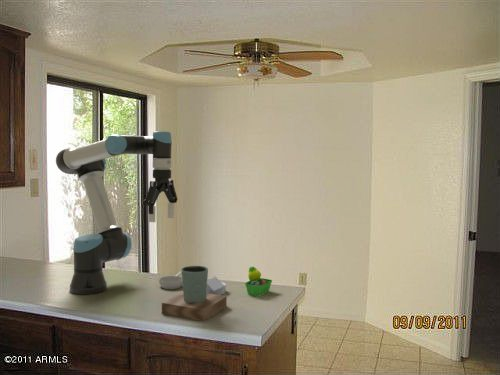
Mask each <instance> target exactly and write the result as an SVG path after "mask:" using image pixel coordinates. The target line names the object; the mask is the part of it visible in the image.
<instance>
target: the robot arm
mask: <svg viewBox="0 0 500 375" xmlns="http://www.w3.org/2000/svg"><path fill="white" fill-rule="evenodd" d="M172 143H173V141H172V134H171V132H170V131H165V130H163V131H161V130H155V131H153V133H152V135H148V136H147V135H145V136H144V135H127V134H126V135H125V134H110V135H108V136H107V137H106V139H102V140H100V141H99V140H98V141H96V142H92V143H89V144H87V145H83V146H80V147H76V148H75V147H68V148H65V149H61V150H60V151H59V152H58V153H57V154H56V157H55V164H56V166H57V168H58V169H59V170H60V171H61V172H62V173H64V174H66V175H67V174H68V175H77V177H78V181H80V182H82V183H83V185H84V189H85V191H86V195H87V198H88V202H89V205H90V208H91V211H92V215H93V219H94V221H95V225H96V227H97V232H96V233H90V234H83V235H80V236H78V237H76V238H75V239H74V241H73V250H72V251H73V275H72V278H71V283H70V284H69V292H70V293H71V294H75V295H93V294H94V295H95V294H99V293H102V292H104V291H106V290H107V289H108V285H107V281H106V278H105V275H104V272H103V264H104V263H107V262H112V261H116V260H117V261H119V260H121V259H123V258H124V259H125V258H126V257H127V256H128V255H130V253H131V249H132V244H133V242H132V239H131V237H130V234H128V233H127V232H124V231H123V229H122V226H120V225H118V224H117V220H116V218H115V215H114V212H113V208H112V205H111V202H110V198H109V196H108V195H109V194H108V191H107V189H106V186H105V182H104V179H103V177H104V175H105V171H106V167H107V161H106V160H107V159H108V158H109V159H110V158H114V157H116V156H120V155H152V168H153V170H152V178H153V179H154V180H153V181H151V180H150V181H149V187H148V191H147V194H146V198H145V202H144V204H145V206H147V207H148V223H156V219H157V218H156V216H157V214H156V203H157V200H158V198H159V195H160V194H161V193H162V192H163V193H164V194H165V197H166V198H167V201H168V202H167V218H168V219H175V204H176V203H177V202H178V196H177V193H176V188H175V185H174V180H173V179H171V178H172V170H171V169H172V145H173V144H172Z"/></svg>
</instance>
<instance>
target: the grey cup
mask: <svg viewBox="0 0 500 375" xmlns="http://www.w3.org/2000/svg"><path fill="white" fill-rule="evenodd" d="M180 272H182V273H181V277H182V281H183V284H182V292H183V297H184V301H185V302H188V303H201V302H204V301H205V300H206V290H207V280H208V278H209V277H208V273H209V268H208V267H207V266H203V265H202V266H201V265H188V266H184V267H181V270H180Z"/></svg>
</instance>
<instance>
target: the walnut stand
mask: <svg viewBox="0 0 500 375" xmlns="http://www.w3.org/2000/svg"><path fill="white" fill-rule="evenodd" d="M227 298H228V296H226V295H223V294H221V295H215V294H209V293H206V300H205V301H204V302H201V303H188V302H185V301H184V297H183V291H182V292H180V293H179V294H177V295H175V296H172V297H170V298H168V299H166V300H164V301H163V302H161V314H164V315H169V316H175V317H180V318H186V319H192V320H198V321H204V322H205V321H206V320H208V319H209V318H211V317H212V316H214V315H215V314H217V313H218V312H220V311H221V310H224V308H226V307H227Z"/></svg>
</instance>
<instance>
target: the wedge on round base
mask: <svg viewBox="0 0 500 375" xmlns="http://www.w3.org/2000/svg"><path fill="white" fill-rule="evenodd" d="M226 286H227V284H226V283H225V282H223V281H220V280H219V278H218V277H216V276H214V277H211V278H209V279H207V290H206V293H209V294H215V295H223V294H225V293H226V290H227V289H226V288H227V287H226Z"/></svg>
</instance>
